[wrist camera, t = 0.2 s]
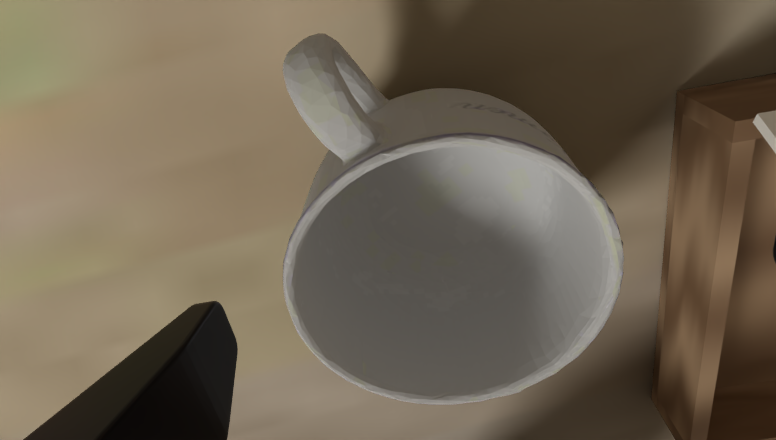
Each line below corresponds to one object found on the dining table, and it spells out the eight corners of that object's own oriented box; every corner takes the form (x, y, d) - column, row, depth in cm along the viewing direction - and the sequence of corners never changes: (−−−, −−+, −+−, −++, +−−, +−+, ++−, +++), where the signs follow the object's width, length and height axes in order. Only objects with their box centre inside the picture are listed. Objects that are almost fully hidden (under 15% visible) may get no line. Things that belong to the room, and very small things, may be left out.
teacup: (572, 245, 26) (649, 366, 18) (362, 314, 27) (359, 449, 20) (493, -62, 19) (564, -57, 12) (226, 52, 21) (151, 114, 14)
